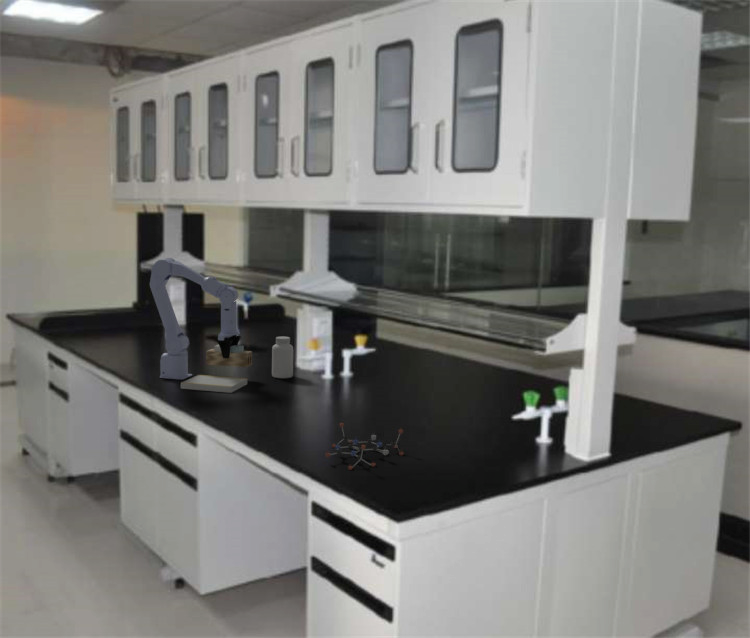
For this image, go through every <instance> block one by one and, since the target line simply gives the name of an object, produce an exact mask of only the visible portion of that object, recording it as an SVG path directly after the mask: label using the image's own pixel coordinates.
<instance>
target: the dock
mask: <svg viewBox="0 0 750 638" xmlns="http://www.w3.org/2000/svg"><path fill="white" fill-rule="evenodd" d="M246 385H248V378H246V377H245V378H243V377H233V376H232V377H231V376H220V375H218V376H217V375H206V374H197V375H196V376H193V377H191V378H188V379H185V380H184V381H181V382H180V389H182V390H183V389H184V390H192V391H194V390H195V391H207V392H219V393H229V394H232V393H234V392H235V391H237V390H239V389H241V388H242V387H243V388H244V387H245V386H246Z"/></svg>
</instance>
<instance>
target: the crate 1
mask: <svg viewBox="0 0 750 638" xmlns="http://www.w3.org/2000/svg"><path fill="white" fill-rule="evenodd" d="M214 349H215V351H217V352H221V349H220V346H219V344H218V343H217V344H216V345H214Z"/></svg>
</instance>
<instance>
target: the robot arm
mask: <svg viewBox="0 0 750 638" xmlns="http://www.w3.org/2000/svg"><path fill="white" fill-rule="evenodd" d="M150 269H151V272H150V273H151V274H150V279H149V280H150V281H149V288H150V291H151V293H152V296H153V300H154V303H155V305H156V308H157V311H158V313H159V317H160V320H161V322H162V325H163V328H164V339H165V345H164V346H165V350H166V351H167V352H164V353H162V355H161V356H160V361H159V362H160V365H159V366H160V367H159V368H160V375H159V378H160V379H171V380H186V379H187V378H190V377H192V376H193V374H192V373H189V372H188V371H189V369H188V367H189V366H188V364H189V363H188V361H189V360H188V358H189V357H188V350H187V348H188V347H189V345H190V339H189V337H188V336H187V335H186V334H185V333H184V330H183V328H182V327H181V326H180V325H179V324H180V323H179V322H178V319H177V316H176V314H175V310H174V307H173V304H172V302H171V299H170V296H169V293H168V290H167V287H166V285H167V283H168V282H169V280H170V278H171V277H172V276H182V277H183V278H186V279H188V280H190V281H191V282H194V283H196V284H198V285H200V286H201V290H202V291H203V292H205V293H208V294H209V295H211V296H213V297H214V298H216V299H219V302H220V333H219V334H218V336H217V339H216V342H217V345H218V344H219V346H220V349H221V352H222V356H223V358H229V355H230V348H231V346H234V345H238V346H239V342H240V340H241V338H242V336H241V335H240V334H241V332H240V329H238V326H237V325H238V322H237V321H238V313H237V311H238V308H237V307H238V306H237V299H238V298H239V292H238V290H237V289H236V288H235V287H234V286H231V285H230V286H229V284H227V283H223V282H222V281H219V280H218V279H217V277H216V276H206V277H205V276H204V275H202V274H201V273H199V272H197V271H195V270H194V269H192V268H191V267H189V266H187V265H185V264H184V263H183V262H181V261H178V260H175V259H174V258H172V257H166V258H164V259H159V260H157V261H155V262H154V263H153V265H152V266H151V268H150Z"/></svg>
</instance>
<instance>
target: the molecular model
mask: <svg viewBox="0 0 750 638" xmlns="http://www.w3.org/2000/svg"><path fill="white" fill-rule="evenodd" d="M339 427H340V428H341V429H342V434H343V438H342V440H340V441H338V442H337V444H335V442H333V443H332V444H331V447H332V448H334V449H335V450H336V452H333V453H330V452H329V450H327V451H326V452H325V457H326V458H330V456H333V455H341V454H347V455H351V457H356V458H357V460H358V461H356V463H355V464H354V465H351V464H350V465H348V467H347V468H348V470H353V468H354V467H355V466H356V465H357V464H358V463H359V462H360V461H363V462H365V463H366V464H368V465H370V466H371V467H372V468H373V467H376V463H375V462H374V461H372V462H371V463H369V462H368V461H366V460H365V459H363V452H364V451H373V452H379V453H382V455H384V456H387V455H388V454H389V452H390V451H389V450H388V449H386V447H384V449H379V448H381V447H382V446H383V442H381V440H380V438H379V440H378V441H377V442H376V443H375V442H373V441H376V440H377V435H375V434H371V436H370V437H369V438H367V441H365V440H364V441H359V440H358V439H357V436H355V438H354V439H350V438H349V436H348V435H345V433H344V427H345V425H344V422H340V423H339ZM397 431H398V435H397V436H398V437H397V439H396V441H394V438H393V439H392V441H391V442H390V444H386V446H391V447H393V449H397V450H398V451H399V452H398V455H400V456H404V451H403V449H401V450H399V447H398V445H397V444H398V442H399V439H400V437H401V434H403V433H404V429H402V427H400V429H399V428H398V430H397ZM343 441H344V442H348V443H349V444H348V446H341V445H340V443H341V442H343ZM360 443H361V444H360ZM364 443H367V444H373V445H374V446H372V448H366V444H364ZM358 444H360V446H354V445H358ZM344 448H349V449H353V450H351V451H350V452H343V451H342V449H344ZM356 450H357V451H356ZM358 452H359V453H358ZM357 453H358V454H359V455H357Z"/></svg>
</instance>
